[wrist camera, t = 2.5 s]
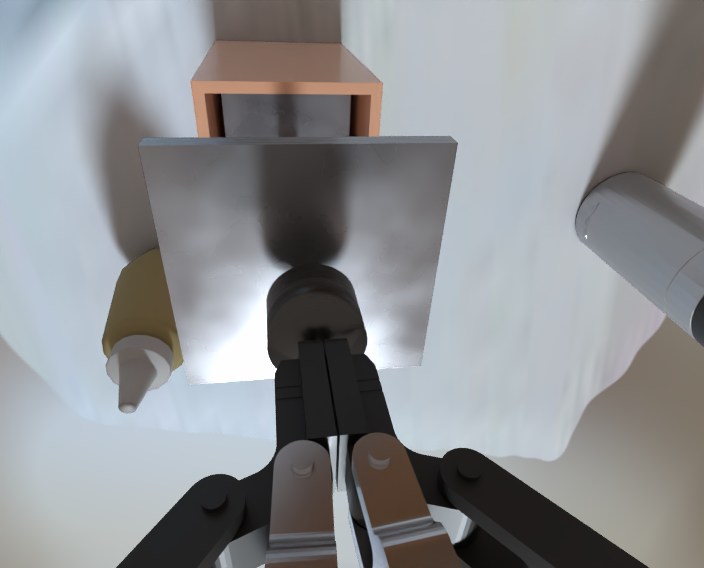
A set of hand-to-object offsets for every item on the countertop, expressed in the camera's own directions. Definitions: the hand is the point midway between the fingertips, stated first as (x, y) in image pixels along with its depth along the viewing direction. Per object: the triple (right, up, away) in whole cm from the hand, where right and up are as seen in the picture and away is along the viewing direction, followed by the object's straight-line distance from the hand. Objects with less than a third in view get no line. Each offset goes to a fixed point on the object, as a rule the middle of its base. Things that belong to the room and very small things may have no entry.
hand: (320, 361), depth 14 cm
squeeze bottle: (-18, +4, +33) cm, 38 cm away
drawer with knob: (-3, +11, +17) cm, 20 cm away
